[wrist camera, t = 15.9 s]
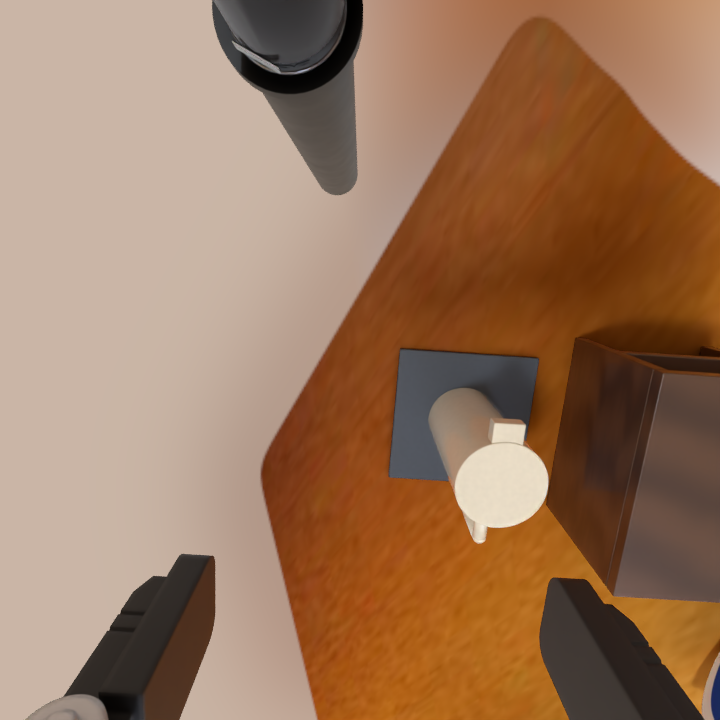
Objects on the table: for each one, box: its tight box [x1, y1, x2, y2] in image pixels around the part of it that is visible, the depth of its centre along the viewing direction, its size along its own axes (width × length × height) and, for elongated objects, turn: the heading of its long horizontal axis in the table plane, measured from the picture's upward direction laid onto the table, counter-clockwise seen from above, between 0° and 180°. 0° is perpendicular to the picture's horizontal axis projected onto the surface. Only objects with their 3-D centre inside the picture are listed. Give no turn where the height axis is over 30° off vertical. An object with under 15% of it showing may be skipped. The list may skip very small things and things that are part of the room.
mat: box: [389, 349, 539, 481], centre depth 42 cm, size 12×12×1 cm
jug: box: [428, 388, 549, 544], centre depth 36 cm, size 10×6×12 cm, turn 176°
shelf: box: [546, 338, 720, 603], centre depth 36 cm, size 16×12×12 cm
